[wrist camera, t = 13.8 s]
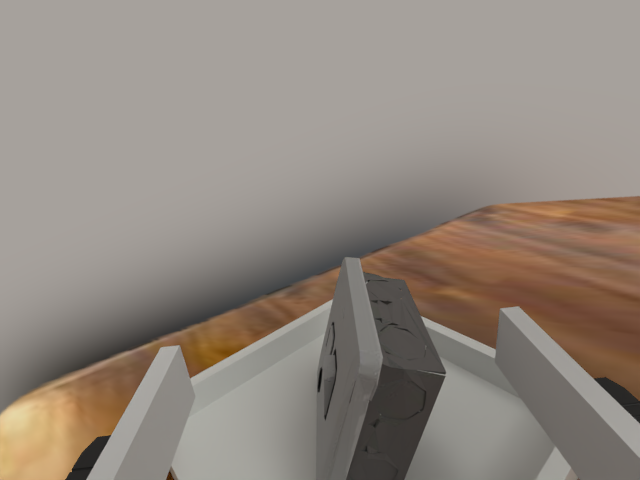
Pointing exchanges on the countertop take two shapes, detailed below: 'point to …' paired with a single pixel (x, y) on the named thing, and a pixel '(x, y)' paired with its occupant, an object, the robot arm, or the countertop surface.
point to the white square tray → (437, 439)
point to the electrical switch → (373, 379)
